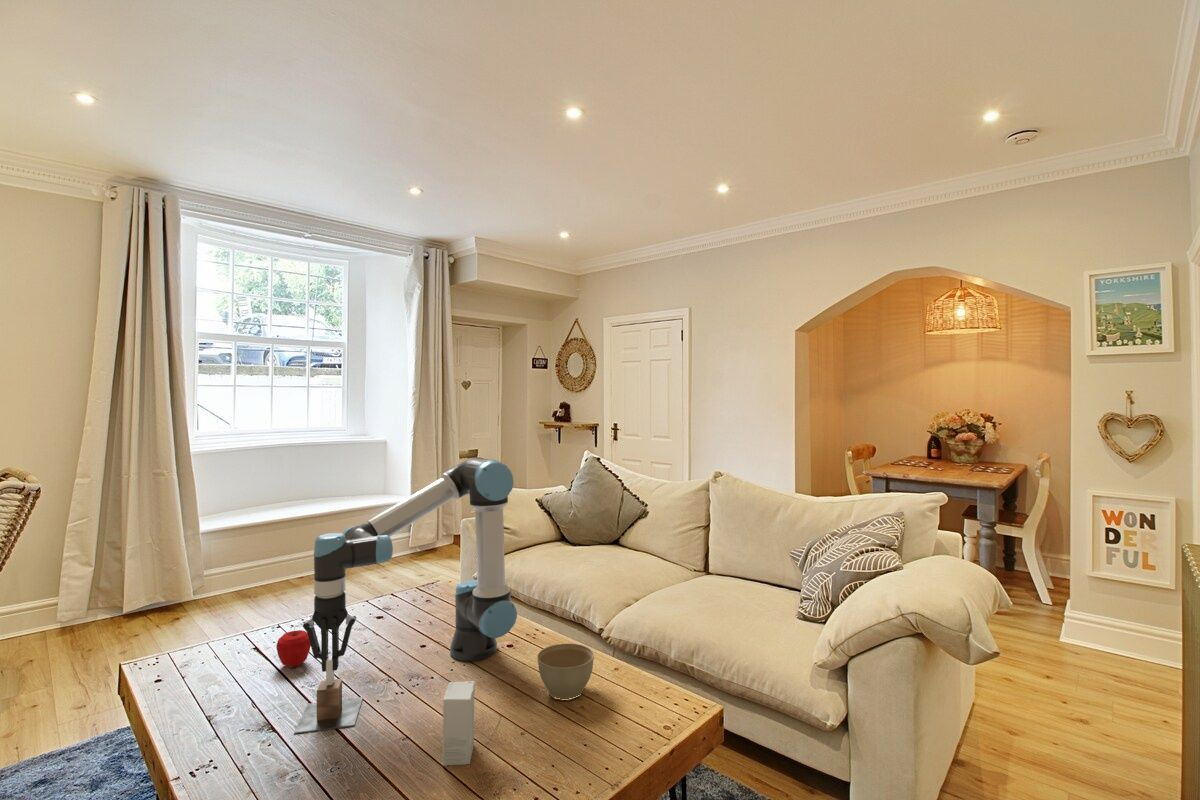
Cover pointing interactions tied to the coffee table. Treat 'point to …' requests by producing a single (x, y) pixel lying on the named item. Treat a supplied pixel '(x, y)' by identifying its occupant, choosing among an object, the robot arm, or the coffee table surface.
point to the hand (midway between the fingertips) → (330, 682)
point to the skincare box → (458, 723)
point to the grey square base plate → (345, 719)
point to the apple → (293, 648)
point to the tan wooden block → (329, 700)
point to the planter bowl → (565, 669)
